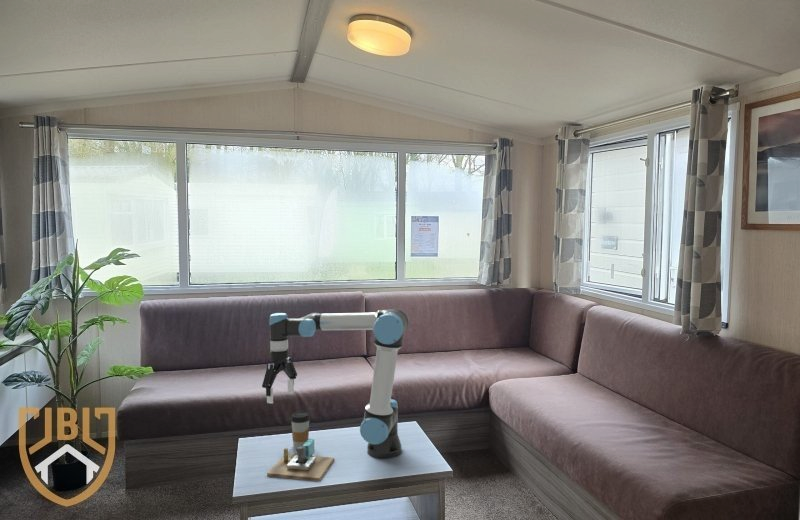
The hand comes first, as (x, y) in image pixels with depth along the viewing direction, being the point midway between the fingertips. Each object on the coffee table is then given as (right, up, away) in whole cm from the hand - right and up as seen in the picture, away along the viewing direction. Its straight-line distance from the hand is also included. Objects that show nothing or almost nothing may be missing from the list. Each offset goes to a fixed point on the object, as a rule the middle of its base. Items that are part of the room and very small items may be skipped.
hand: (280, 398), depth 218 cm
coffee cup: (+7, -25, +10) cm, 28 cm away
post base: (+11, -26, -10) cm, 30 cm away
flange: (+12, -24, -7) cm, 28 cm away
